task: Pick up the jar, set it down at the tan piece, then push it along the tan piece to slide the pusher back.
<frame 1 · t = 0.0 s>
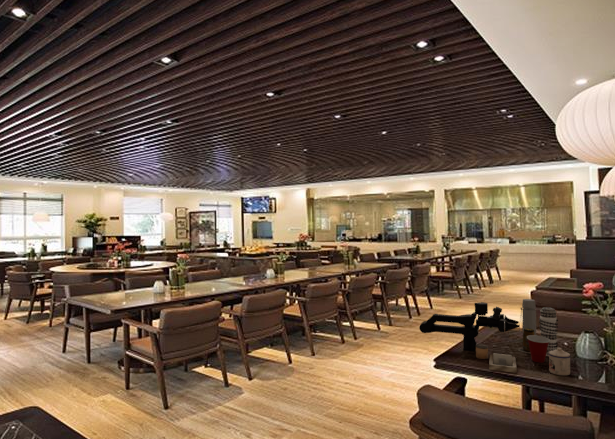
hand: (519, 324, 235), 17 cm above the table, tool horizontal, fingers open, 9 cm apart
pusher: (502, 360, 217), point 3 cm above the table, slide at 0.0 cm
water bottle: (527, 341, 261), on the table
tan piece: (502, 365, 218), on the table
plastic cup: (538, 361, 224), on the table
condiment: (527, 351, 242), on the table
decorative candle: (548, 354, 235), on the table
teacup with lid: (560, 374, 205), on the table
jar: (482, 357, 231), on the table
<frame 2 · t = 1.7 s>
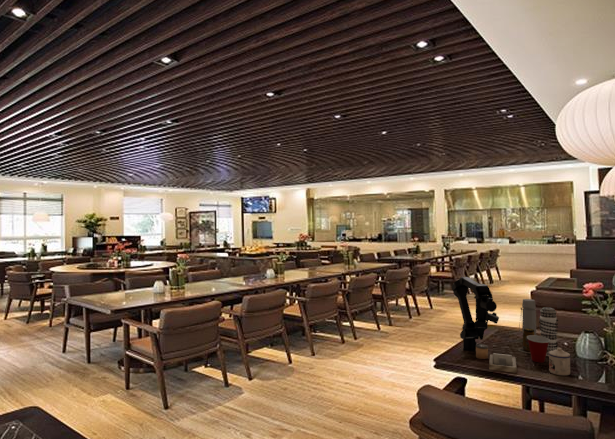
hand: (481, 337, 231), 10 cm above the table, tool pointing down, fingers open, 9 cm apart
nothing on the table moved.
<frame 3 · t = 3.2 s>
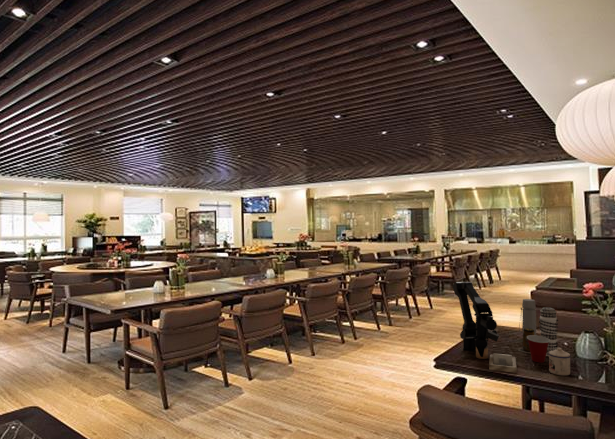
hand: (482, 355, 231), 1 cm above the table, tool pointing down, fingers closed on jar, 6 cm apart
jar: (482, 357, 231), on the table, touching gripper
everything else where it was.
when the fingers open (2 cm above the table, at t = 7.1 s): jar drops 1 cm, on the table.
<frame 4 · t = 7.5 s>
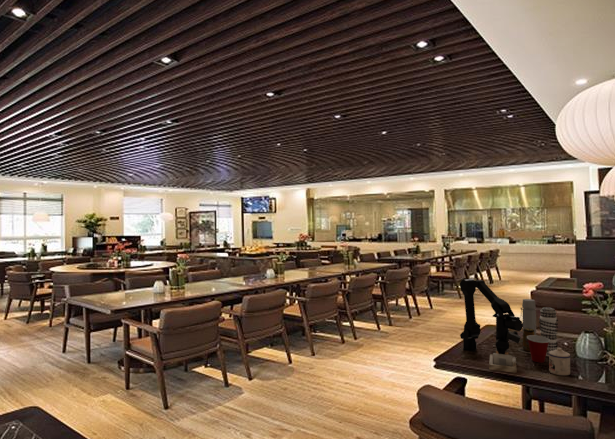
hand: (502, 357, 225), 2 cm above the table, tool pointing down, fingers open, 9 cm apart
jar: (502, 361, 225), on the table
everything else where it was.
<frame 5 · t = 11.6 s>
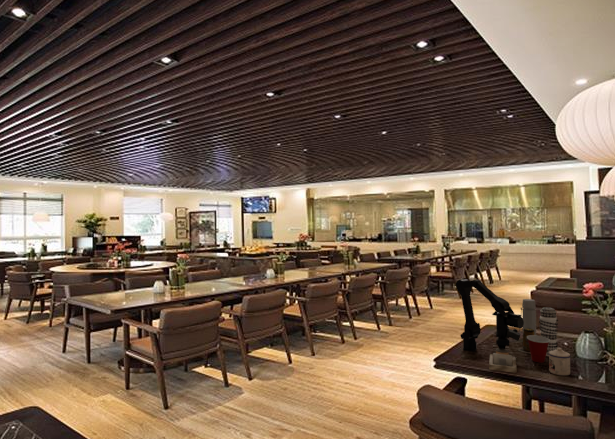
hand: (502, 354, 228), 2 cm above the table, tool pointing down, fingers closed
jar: (502, 361, 224), on the table, touching gripper
everything else where it was.
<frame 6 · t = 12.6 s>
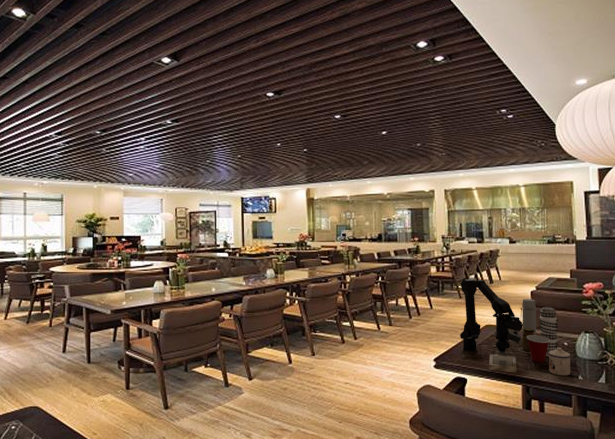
hand: (502, 357, 224), 2 cm above the table, tool pointing down, fingers closed
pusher: (502, 361, 215), point 3 cm above the table, slide at 2.5 cm, touching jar
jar: (502, 364, 219), on the table, touching gripper, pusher
everything else where it was.
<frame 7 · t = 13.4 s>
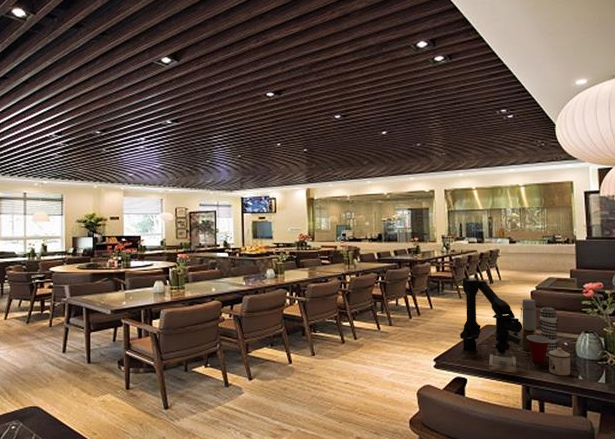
hand: (502, 358, 222), 2 cm above the table, tool pointing down, fingers closed
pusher: (502, 362, 213), point 3 cm above the table, slide at 4.9 cm
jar: (502, 365, 217), on the table, touching gripper
everything else where it was.
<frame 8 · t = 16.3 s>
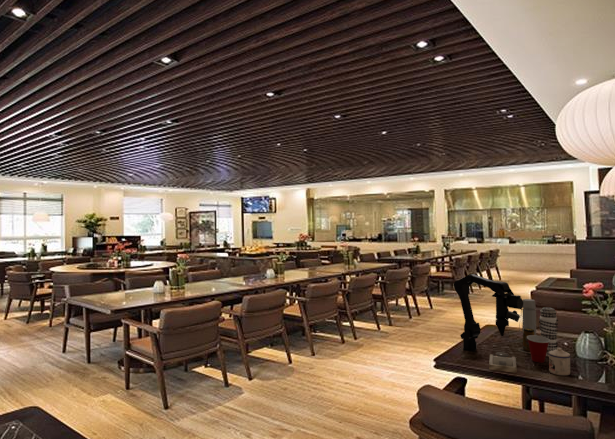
hand: (502, 335, 228), 12 cm above the table, tool pointing down, fingers closed
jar: (502, 366, 217), on the table
everything else where it was.
at the end: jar inside the target area (0.3 cm from its centre), on the table; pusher slide at 5.0 cm; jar tilted 0° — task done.
